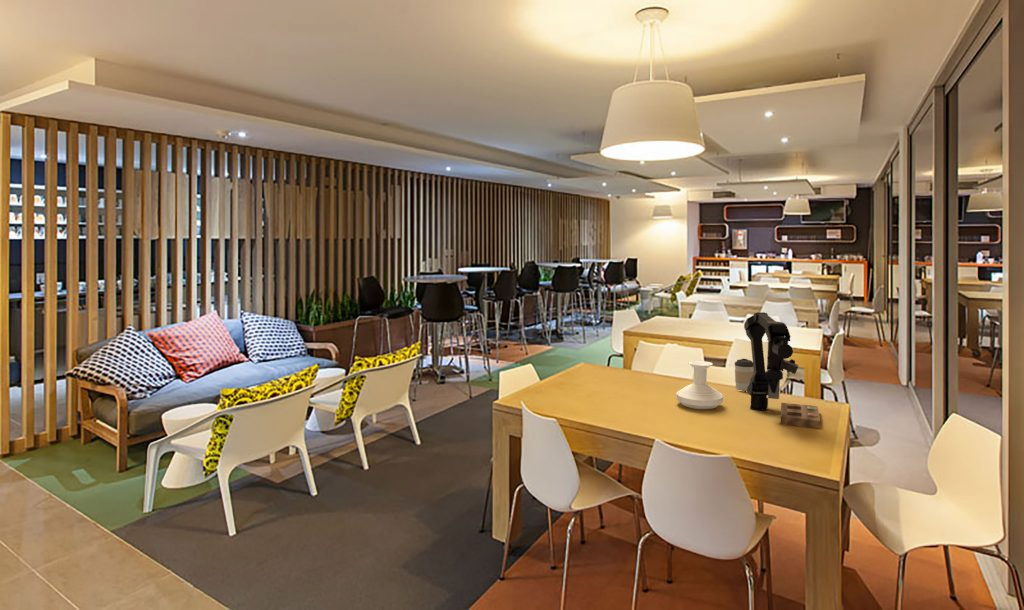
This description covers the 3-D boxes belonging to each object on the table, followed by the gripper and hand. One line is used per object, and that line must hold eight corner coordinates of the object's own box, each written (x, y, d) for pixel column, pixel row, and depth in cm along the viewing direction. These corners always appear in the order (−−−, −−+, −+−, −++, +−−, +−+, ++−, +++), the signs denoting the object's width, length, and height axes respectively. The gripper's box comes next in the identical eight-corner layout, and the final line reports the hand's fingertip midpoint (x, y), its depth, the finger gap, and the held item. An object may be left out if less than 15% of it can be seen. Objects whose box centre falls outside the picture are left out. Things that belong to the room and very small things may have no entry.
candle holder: (706, 415, 249) (707, 370, 246) (666, 405, 264) (667, 362, 262) (732, 406, 261) (733, 363, 259) (692, 397, 277) (693, 356, 274)
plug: (768, 398, 239) (768, 378, 238) (768, 395, 243) (769, 375, 242) (778, 399, 237) (779, 378, 236) (779, 396, 241) (779, 376, 240)
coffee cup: (754, 393, 282) (755, 362, 281) (733, 391, 285) (734, 361, 284) (752, 388, 291) (754, 358, 289) (733, 387, 294) (734, 357, 292)
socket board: (780, 423, 236) (780, 415, 236) (781, 409, 256) (781, 401, 255) (819, 428, 230) (820, 419, 230) (817, 413, 250) (817, 404, 250)
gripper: (797, 359, 226) (796, 399, 228) (797, 351, 243) (795, 388, 245) (766, 357, 231) (764, 396, 233) (767, 349, 248) (766, 385, 249)
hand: (773, 391), depth 240 cm, fingers closed on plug, 4 cm apart
